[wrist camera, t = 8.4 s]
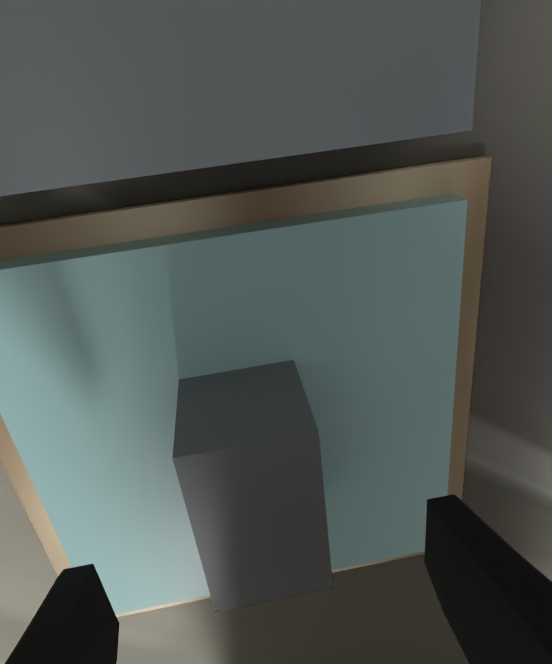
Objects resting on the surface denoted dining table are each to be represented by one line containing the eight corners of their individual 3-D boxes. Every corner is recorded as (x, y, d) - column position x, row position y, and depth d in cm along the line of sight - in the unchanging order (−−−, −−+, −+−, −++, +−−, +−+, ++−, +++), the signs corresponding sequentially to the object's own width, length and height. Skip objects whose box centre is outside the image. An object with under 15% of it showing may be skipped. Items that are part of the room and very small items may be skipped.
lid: (451, 193, 12) (550, 231, 8) (433, 528, 17) (490, 633, 14) (-46, 267, 11) (-155, 342, 8) (100, 595, 16) (74, 724, 13)
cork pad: (485, 155, 12) (491, 157, 12) (453, 540, 18) (457, 547, 18) (-99, 239, 11) (-107, 243, 11) (83, 616, 17) (81, 624, 17)
